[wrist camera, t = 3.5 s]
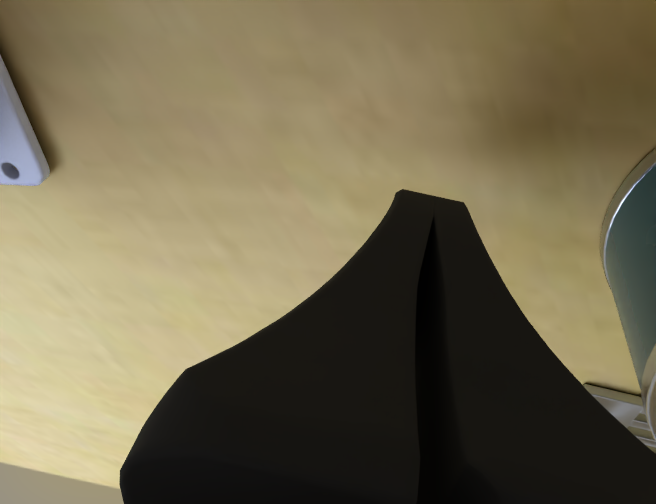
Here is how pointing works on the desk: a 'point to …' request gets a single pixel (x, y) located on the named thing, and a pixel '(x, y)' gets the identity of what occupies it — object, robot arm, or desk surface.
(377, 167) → the desk surface
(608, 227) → the tin can
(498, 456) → the robot arm
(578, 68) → the desk surface
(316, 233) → the desk surface
